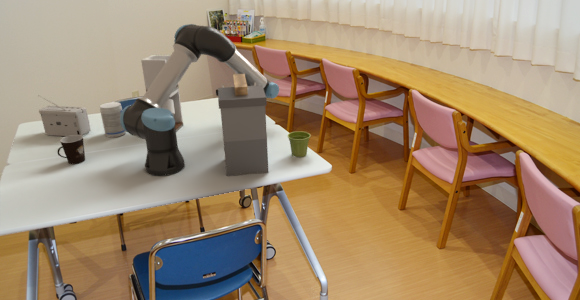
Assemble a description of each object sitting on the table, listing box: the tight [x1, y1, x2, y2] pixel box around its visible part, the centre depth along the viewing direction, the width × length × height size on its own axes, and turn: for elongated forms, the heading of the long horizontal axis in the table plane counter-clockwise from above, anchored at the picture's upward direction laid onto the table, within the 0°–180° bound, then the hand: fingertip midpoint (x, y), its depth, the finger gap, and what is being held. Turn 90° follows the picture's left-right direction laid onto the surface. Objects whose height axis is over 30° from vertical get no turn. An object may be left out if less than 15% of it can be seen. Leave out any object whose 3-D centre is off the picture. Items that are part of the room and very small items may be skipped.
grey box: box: [217, 85, 270, 177], centre depth 173 cm, size 17×17×30 cm
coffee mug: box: [57, 135, 86, 165], centre depth 185 cm, size 12×9×10 cm
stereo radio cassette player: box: [37, 95, 91, 137], centre depth 213 cm, size 21×8×20 cm, turn 77°
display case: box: [140, 54, 184, 133], centre depth 213 cm, size 11×11×35 cm
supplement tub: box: [99, 101, 127, 138], centre depth 212 cm, size 10×10×15 cm
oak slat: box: [232, 73, 248, 95], centre depth 173 cm, size 4×20×3 cm, turn 8°
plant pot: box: [287, 131, 311, 158], centre depth 186 cm, size 9×9×9 cm
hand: (239, 86), depth 190 cm, fingers open, 13 cm apart
